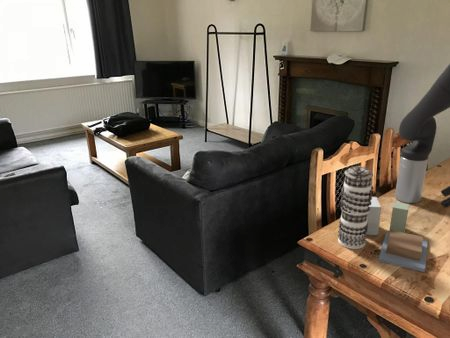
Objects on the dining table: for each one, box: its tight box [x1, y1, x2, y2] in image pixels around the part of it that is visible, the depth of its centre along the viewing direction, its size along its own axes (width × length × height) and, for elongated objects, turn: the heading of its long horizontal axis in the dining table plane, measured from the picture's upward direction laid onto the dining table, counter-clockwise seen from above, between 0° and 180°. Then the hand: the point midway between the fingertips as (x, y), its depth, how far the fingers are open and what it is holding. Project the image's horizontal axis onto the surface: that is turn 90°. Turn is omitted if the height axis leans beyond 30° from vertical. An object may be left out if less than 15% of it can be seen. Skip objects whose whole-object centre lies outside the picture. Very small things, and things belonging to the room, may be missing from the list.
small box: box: [366, 196, 382, 236], centre depth 121 cm, size 8×6×10 cm
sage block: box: [388, 201, 410, 233], centre depth 120 cm, size 4×4×9 cm
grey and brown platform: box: [378, 230, 428, 273], centre depth 109 cm, size 16×12×4 cm
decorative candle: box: [337, 165, 374, 250], centre depth 112 cm, size 9×9×25 cm
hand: (442, 199), depth 112 cm, fingers open, 8 cm apart
